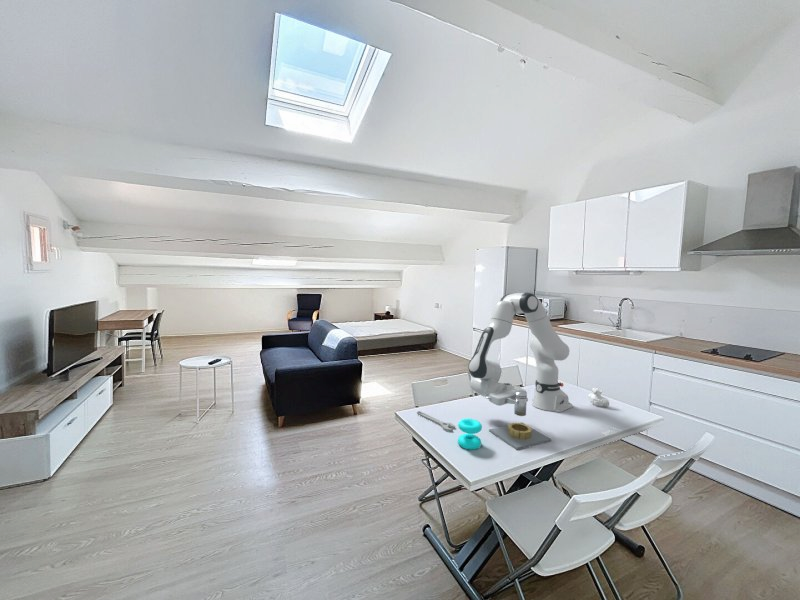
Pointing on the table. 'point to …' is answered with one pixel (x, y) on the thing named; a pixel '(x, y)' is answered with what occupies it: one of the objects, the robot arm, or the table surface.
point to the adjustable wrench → (438, 422)
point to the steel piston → (520, 403)
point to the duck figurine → (598, 398)
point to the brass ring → (519, 431)
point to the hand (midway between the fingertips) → (522, 401)
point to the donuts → (469, 434)
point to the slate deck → (519, 443)
